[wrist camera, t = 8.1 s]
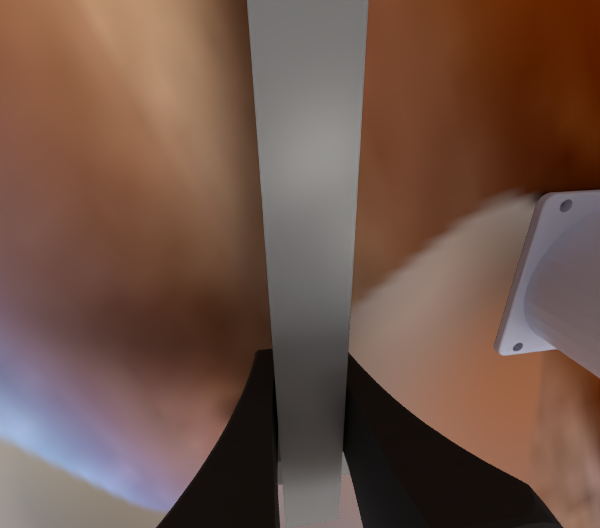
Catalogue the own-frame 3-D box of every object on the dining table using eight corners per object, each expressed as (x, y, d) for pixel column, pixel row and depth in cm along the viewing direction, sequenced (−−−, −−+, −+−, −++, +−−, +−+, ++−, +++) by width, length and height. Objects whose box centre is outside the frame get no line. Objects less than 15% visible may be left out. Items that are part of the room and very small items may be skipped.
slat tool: (376, -155, 7) (536, -564, 3) (344, 411, 15) (376, 512, 11) (169, -177, 7) (18, -718, 2) (248, 424, 14) (244, 535, 10)
